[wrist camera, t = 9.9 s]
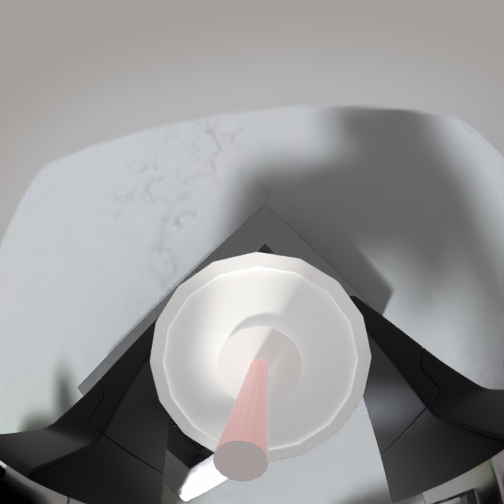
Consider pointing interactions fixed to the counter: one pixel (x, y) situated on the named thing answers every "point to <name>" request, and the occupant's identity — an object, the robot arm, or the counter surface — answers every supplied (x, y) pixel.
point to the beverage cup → (259, 360)
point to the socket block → (239, 243)
